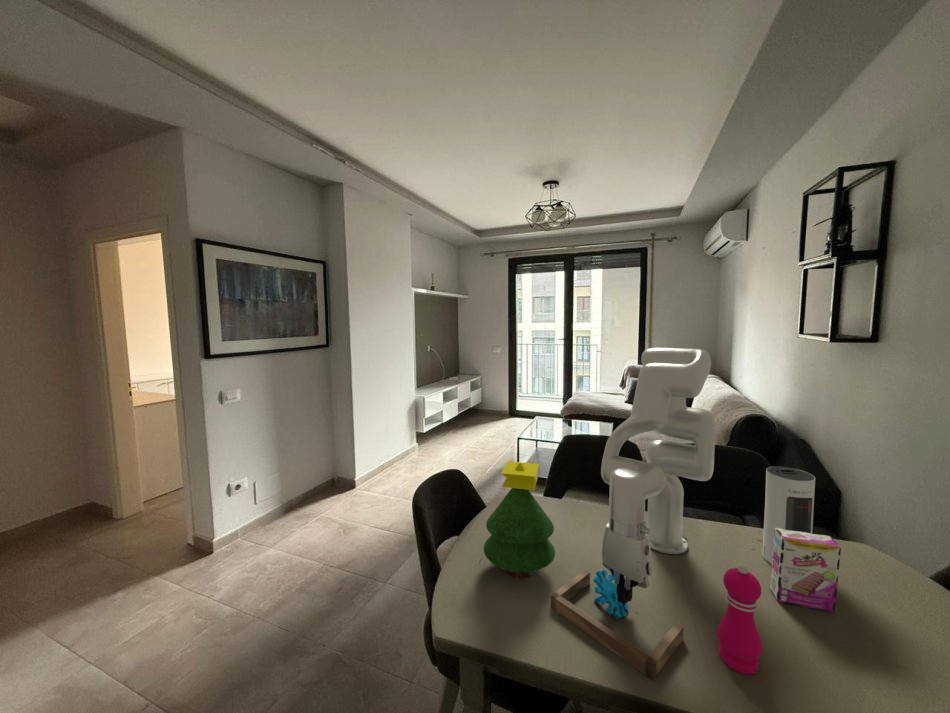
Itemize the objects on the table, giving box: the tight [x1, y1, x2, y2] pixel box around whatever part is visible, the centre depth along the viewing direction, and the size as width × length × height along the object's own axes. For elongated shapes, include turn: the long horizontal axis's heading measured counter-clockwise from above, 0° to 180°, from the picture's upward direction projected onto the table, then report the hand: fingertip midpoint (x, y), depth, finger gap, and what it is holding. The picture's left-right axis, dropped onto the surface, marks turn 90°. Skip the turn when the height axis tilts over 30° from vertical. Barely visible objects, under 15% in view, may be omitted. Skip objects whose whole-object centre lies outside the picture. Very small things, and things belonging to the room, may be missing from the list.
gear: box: [592, 569, 629, 620], centre depth 88 cm, size 11×6×10 cm
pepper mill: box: [716, 563, 763, 675], centre depth 73 cm, size 7×7×20 cm
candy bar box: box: [769, 528, 842, 613], centre depth 88 cm, size 11×5×16 cm, turn 71°
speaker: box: [761, 465, 816, 565], centre depth 103 cm, size 11×10×26 cm
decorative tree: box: [483, 460, 556, 580], centre depth 100 cm, size 19×19×30 cm
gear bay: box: [550, 569, 685, 681], centre depth 83 cm, size 14×24×3 cm, turn 40°
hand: (624, 600), depth 86 cm, fingers closed
